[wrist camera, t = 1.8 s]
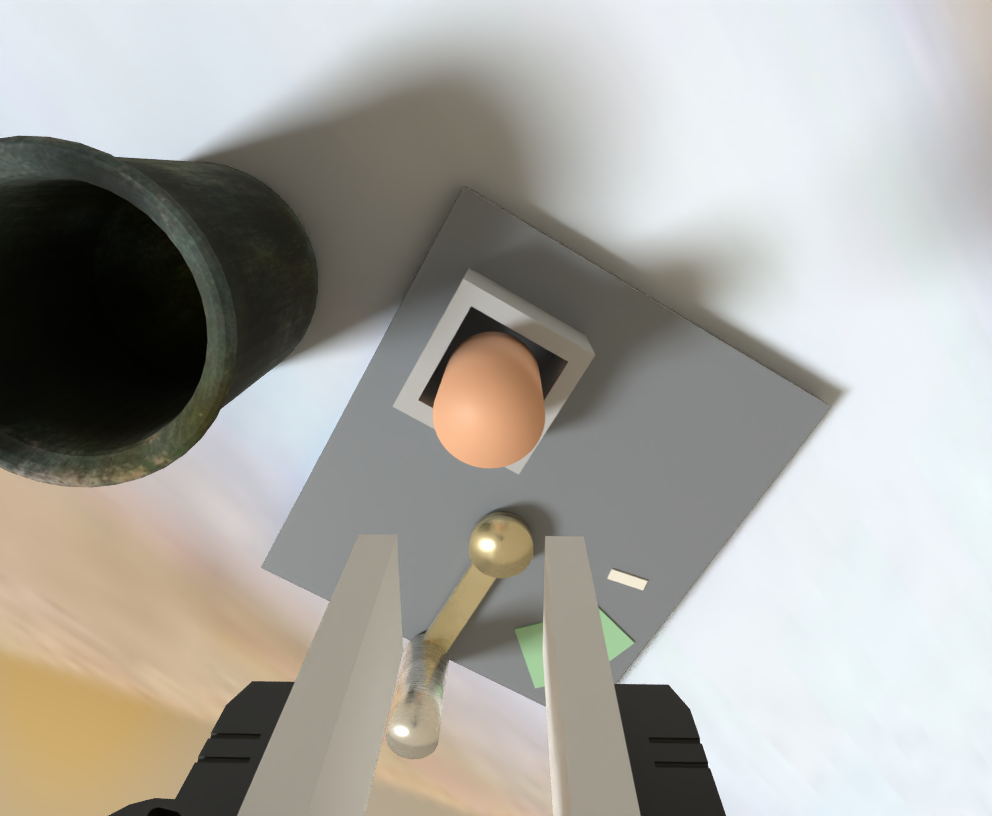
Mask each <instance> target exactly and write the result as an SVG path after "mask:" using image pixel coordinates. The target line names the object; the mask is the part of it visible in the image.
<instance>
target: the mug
mask: <svg viewBox="0 0 992 816" xmlns="http://www.w3.org/2000/svg"><path fill="white" fill-rule="evenodd" d="M317 291H318V290H317V269H316V263H315V257H314V253H313V250H312V247H311V244H310V241H309V239H308V237H307V235H306V233H305V231H304V229H303V227H302V225H301V223H300V221H299V220H298V218H297V217H296V216H295V214H294V213H293V211H292V210H291V208H290V207H289V206H288V205H287V204H286V203H285V202H284V201H283V200H282V199H281V198H280V197H279V196H278V195H277V194H276V193H275V192H274V191H273V190H271V189H270V188H269V187H267V186H266V185H265V184H264V183H262V182H261V181H259V180H257V179H255V178H254V177H252V176H250V175H248V174H246V173H244V172H242V171H239V170H236V169H234V168H231V167H228V166H223V165H218V164H213V163H205V162H189V161H172V160H156V159H140V158H123V157H114V156H112V155H110V154H108V153H105V152H103V151H100V150H97V149H95V148H92V147H89V146H87V145H84V144H81V143H77V142H72V141H67V140H62V139H57V138H52V137H38V136H14V137H7V138H0V468H3V469H5V470H7V471H9V472H11V473H13V474H16V475H20V476H23V477H26V478H29V479H32V480H35V481H38V482H43V483H49V484H54V485H60V486H68V487H99V486H109V485H116V484H120V483H124V482H128V481H132V480H135V479H139V478H143V477H145V476H147V475H149V474H152V473H154V472H156V471H158V470H161V469H163V468H165V467H166V466H168V465H169V464H171V463H172V462H174V461H175V460H177V459H178V458H180V457H181V456H183V455H184V454H185V453H186V452H188V451H189V450H190V449H191V448H192V447H193V446H194V445H195V444H196V443H197V442H198V441H199V440H200V439H201V438H202V437H203V435H204V434H205V433H206V431H207V430H208V429H209V427H210V426H211V425H212V423H213V422H214V421H215V419H216V417H217V415H218V413H219V411H220V409H221V408H223V407H224V406H225V405H227V404H228V403H229V402H230V401H232V400H233V399H234V398H235V397H237V396H238V395H239V394H241V393H242V392H243V391H244V390H246V389H247V388H248V387H250V386H251V385H252V384H253V383H255V382H256V381H257V380H258V379H260V378H261V377H262V376H264V375H265V374H266V373H267V372H269V371H270V370H271V369H273V368H274V367H275V366H276V365H278V364H279V363H280V362H281V361H283V360H284V359H285V358H286V357H287V356H288V355H289V354H290V353H291V352H292V351H293V350H294V349H295V347H296V346H297V345H298V343H299V342H300V341H301V339H302V338H303V336H304V334H305V332H306V330H307V328H308V326H309V324H310V322H311V319H312V316H313V312H314V309H315V304H316V298H317Z"/></svg>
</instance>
